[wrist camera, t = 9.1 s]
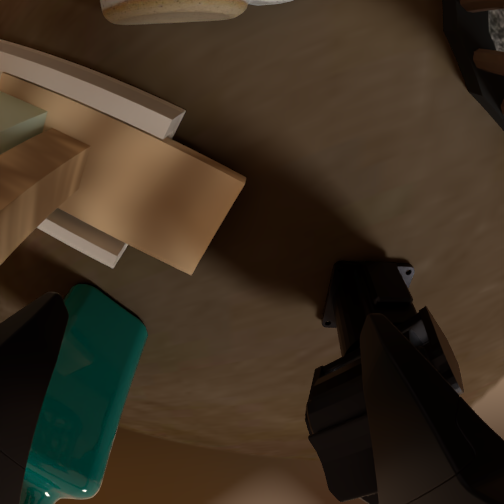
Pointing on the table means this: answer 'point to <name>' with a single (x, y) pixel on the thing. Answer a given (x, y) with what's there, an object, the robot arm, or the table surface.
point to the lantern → (479, 49)
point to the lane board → (99, 97)
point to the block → (18, 121)
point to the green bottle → (83, 398)
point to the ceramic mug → (175, 10)
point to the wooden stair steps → (111, 181)
